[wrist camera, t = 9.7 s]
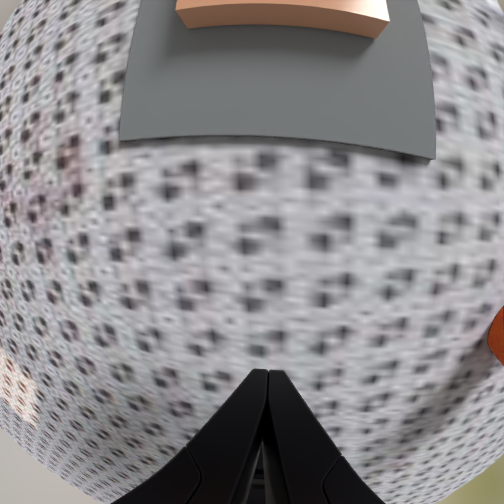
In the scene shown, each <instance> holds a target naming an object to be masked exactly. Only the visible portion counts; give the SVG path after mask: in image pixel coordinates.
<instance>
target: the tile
mask: <svg viewBox="0 0 504 504" xmlns="http://www.w3.org/2000/svg"><path fill="white" fill-rule="evenodd" d="M175 11H176V12H177V14H178V15H179V17H180V18H181V19H182V21H183V22H184V24H185V25H186V27H187V29H189V28H198V27H208V26H221V25H246V24H263V25H288V26H301V27H311V28H320V29H327V30H334V31H340V32H346V33H351V34H357V35H361V36H366V37H371V38H375V39H377V37H378V36H379V35H380V33H381V32H382V31H383V30H384V28H385V27H386V26H387V24H388V23H389V22H390V20H389V15H388V10H387V5H386V0H177V4H176V9H175Z"/></svg>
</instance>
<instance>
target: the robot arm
mask: <svg viewBox="0 0 504 504" xmlns="http://www.w3.org/2000/svg"><path fill="white" fill-rule="evenodd" d="M341 455H342V454H341V452H340V451H339V449H338V448H337V447H336V445H335V444H334V442H333V441H332V440H331V438H330V437H329V435H328V434H327V433H326V431H325V430H324V428H323V427H322V426H321V424H320V423H319V421H318V420H317V418H316V417H315V416H314V414H313V413H312V411H311V410H310V408H309V407H308V405H307V404H306V402H305V401H304V400H303V398H302V397H301V395H300V394H299V392H298V391H297V389H296V388H295V386H294V385H293V383H292V382H291V380H290V379H289V377H288V376H287V374H286V373H285V372H284V371H283V370H269V372H268V370H266V369H253V370H252V371H251V372H250V373H249V374H248V375H247V377H246V378H245V379H244V380H243V381H242V383H241V384H240V385H239V386H238V387H237V389H236V390H235V391H234V392H233V393H232V394H231V396H230V397H229V398H228V399H227V400H226V401H225V403H224V404H223V405H222V406H221V407H220V408H219V409H218V411H217V412H216V413H215V414H214V415H213V416H212V417H211V418H210V419H209V421H208V422H207V423H206V424H205V425H204V426H203V427H202V428H201V429H200V430H199V431H198V433H197V434H196V435H195V436H194V437H193V438H192V439H191V440H190V441H189V442H188V443H187V444H186V447H183V448H182V449H181V450H180V451H179V452H178V453H177V454H176V455H175V456H174V457H173V458H172V459H171V460H170V461H169V462H168V463H167V464H166V465H165V466H164V467H162V468H161V469H160V470H159V471H158V472H156V473H155V474H154V475H152V476H151V477H150V478H148V479H147V480H146V481H144V482H143V483H142V484H140V485H139V486H137V487H136V488H134V489H133V490H131V491H130V492H128V493H127V494H125V495H124V496H122V497H120V498H119V499H117V500H116V501H114V502H112V503H111V504H386V503H384V502H383V501H382V500H381V499H380V498H379V497H378V496H377V495H376V494H375V493H374V492H373V491H372V490H371V489H370V488H369V487H368V486H367V485H366V484H365V483H364V482H363V481H362V479H361V478H360V477H359V476H358V474H357V473H356V472H355V471H354V469H353V468H352V467H351V466H350V464H349V463H348V462H347V460H346V459H345V457H344V456H341Z"/></svg>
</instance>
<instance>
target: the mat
mask: <svg viewBox="0 0 504 504" xmlns="http://www.w3.org/2000/svg"><path fill="white" fill-rule="evenodd" d="M176 4H177V0H142V2H141V5H140V9H139V13H138V17H137V21H136V25H135V29H134V34H133V38H132V43H131V48H130V53H129V59H128V65H127V71H126V77H125V84H124V92H123V100H122V109H121V120H120V132H119V141H132V140H143V139H155V138H170V137H192V136H255V137H277V138H292V139H305V140H316V141H325V142H334V143H342V144H350V145H357V146H364V147H370V148H376V149H382V150H388V151H393V152H398V153H403V154H408V155H413V156H418V157H422V158H426V159H431V160H434V159H436V121H435V102H434V90H433V80H432V71H431V64H430V57H429V51H428V45H427V40H426V35H425V30H424V25H423V21H422V17H421V13H420V9H419V5H418V1H417V0H386V5H387V10H388V15H389V20H390V22H389V23H388V24H387V26H386V27H385V28H384V30H383V31H382V32H381V33H380V35H379V36H378V37H377V39H375V38H371V37H366V36H361V35H357V34H351V33H346V32H340V31H334V30H327V29H320V28H311V27H301V26H288V25H263V24H246V25H221V26H208V27H198V28H189V29H187V27H186V25H185V24H184V22H183V21H182V19H181V18H180V17H179V15H178V14H177V12H176V11H175V9H176Z"/></svg>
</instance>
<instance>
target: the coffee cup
mask: <svg viewBox="0 0 504 504" xmlns="http://www.w3.org/2000/svg"><path fill="white" fill-rule="evenodd" d="M488 346H489V348H490V349H491V350H492V352H493V353H494V354H495V356H496V357H497V358H498V360H499V361H500V362H501V363H502V365H503V366H504V306H503V307H502V308H501V310H500V311H499V312H498V314H497V315H496V317H495V319H494V321H493V323H492V325H491V327H490V330H489V334H488Z"/></svg>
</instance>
